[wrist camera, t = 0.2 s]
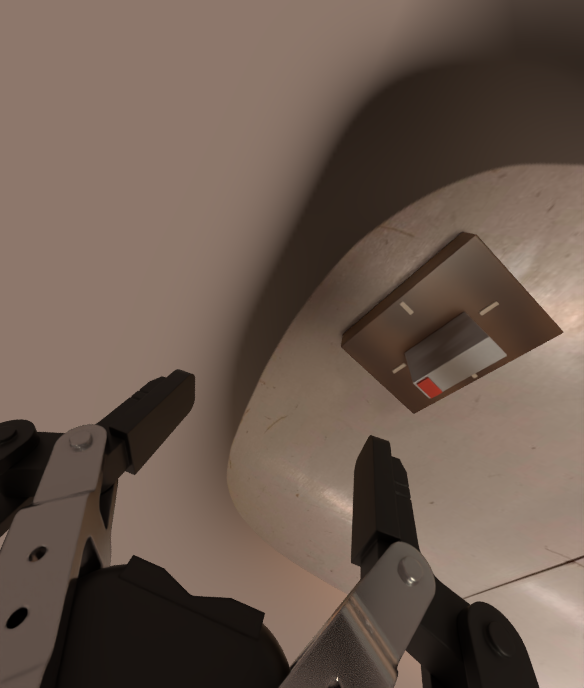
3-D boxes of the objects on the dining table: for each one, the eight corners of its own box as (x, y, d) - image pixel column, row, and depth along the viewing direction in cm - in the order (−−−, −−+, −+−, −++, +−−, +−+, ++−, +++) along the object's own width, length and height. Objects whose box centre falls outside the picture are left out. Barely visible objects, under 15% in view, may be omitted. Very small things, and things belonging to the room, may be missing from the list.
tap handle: (464, 311, 21) (491, 337, 17) (479, 327, 22) (509, 357, 17) (404, 352, 24) (413, 385, 20) (418, 366, 25) (430, 401, 20)
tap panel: (462, 231, 21) (477, 234, 19) (541, 318, 23) (565, 333, 20) (342, 334, 28) (340, 347, 26) (409, 396, 30) (413, 415, 27)
